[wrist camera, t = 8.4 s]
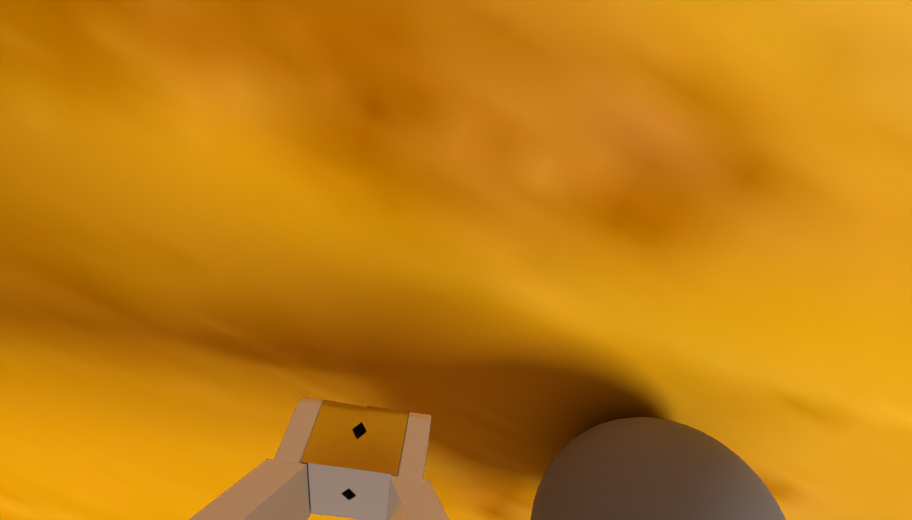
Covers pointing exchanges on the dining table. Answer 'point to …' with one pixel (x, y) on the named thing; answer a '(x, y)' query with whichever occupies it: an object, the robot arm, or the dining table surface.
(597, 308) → the dining table surface
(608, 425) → the gray ball
